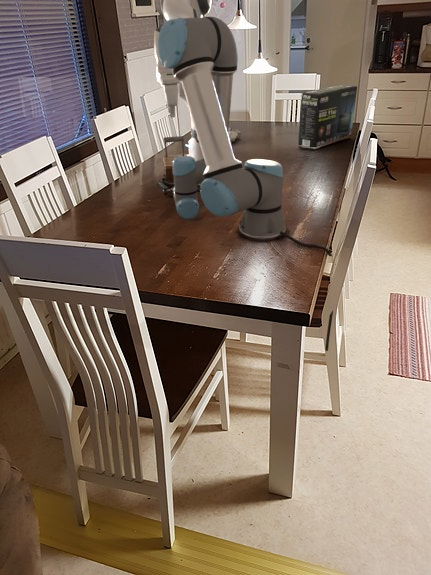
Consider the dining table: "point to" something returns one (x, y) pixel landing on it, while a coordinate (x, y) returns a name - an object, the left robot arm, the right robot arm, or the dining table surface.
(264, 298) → the dining table surface
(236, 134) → the fossil
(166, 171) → the chest
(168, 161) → the lid
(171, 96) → the left robot arm
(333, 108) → the router box
